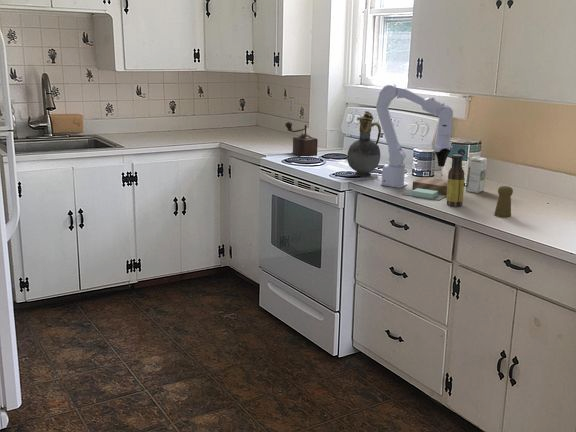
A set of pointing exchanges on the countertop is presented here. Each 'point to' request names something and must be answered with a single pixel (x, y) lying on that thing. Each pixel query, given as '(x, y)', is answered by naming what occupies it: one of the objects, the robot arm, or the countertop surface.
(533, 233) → the countertop surface
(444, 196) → the mat
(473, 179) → the syrup box
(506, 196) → the cork
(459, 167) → the sauce bottle
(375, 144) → the pitcher
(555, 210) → the countertop surface
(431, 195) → the pale teal block
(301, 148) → the manual coffee grinder
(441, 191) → the deck
